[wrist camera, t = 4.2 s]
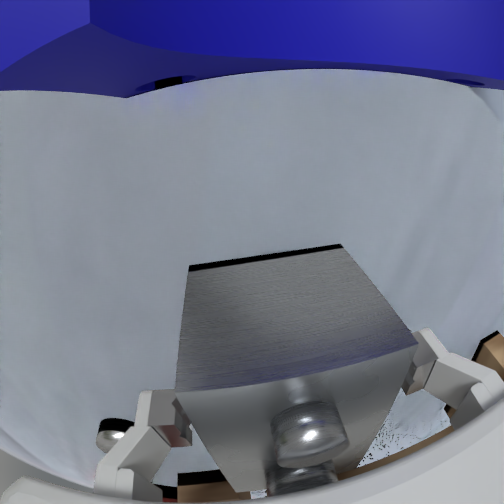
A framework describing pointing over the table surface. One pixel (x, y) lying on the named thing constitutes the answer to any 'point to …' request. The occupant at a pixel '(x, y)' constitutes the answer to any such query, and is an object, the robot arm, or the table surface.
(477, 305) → the table surface
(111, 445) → the chrome bead
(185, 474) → the tan wooden block
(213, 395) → the housing
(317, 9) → the blue curved block
